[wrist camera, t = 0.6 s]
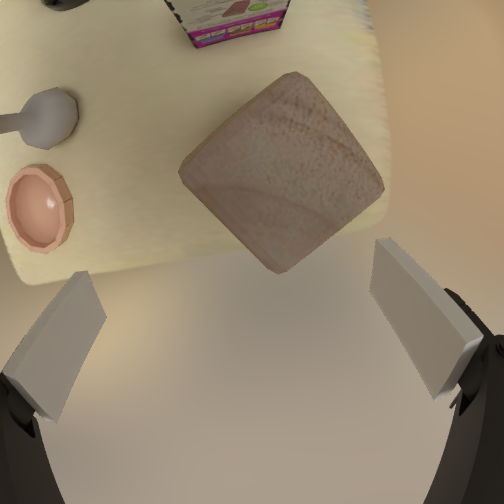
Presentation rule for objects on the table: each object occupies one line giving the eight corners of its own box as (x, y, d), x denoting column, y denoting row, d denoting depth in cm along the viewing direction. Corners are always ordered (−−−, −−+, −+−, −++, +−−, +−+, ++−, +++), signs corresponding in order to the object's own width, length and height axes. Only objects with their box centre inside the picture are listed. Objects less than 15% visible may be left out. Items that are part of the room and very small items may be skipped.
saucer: (5, 191, 33) (-3, 195, 31) (50, 148, 31) (40, 150, 29) (38, 257, 39) (31, 264, 36) (87, 226, 37) (79, 232, 35)
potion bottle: (38, 145, 31) (-48, 172, 14) (46, 89, 27) (-42, 92, 11) (79, 148, 32) (-10, 176, 15) (89, 87, 28) (-1, 80, 12)
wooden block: (259, 203, 37) (278, 285, 19) (207, 148, 33) (167, 174, 15) (317, 155, 34) (395, 192, 16) (267, 97, 31) (299, 61, 13)
